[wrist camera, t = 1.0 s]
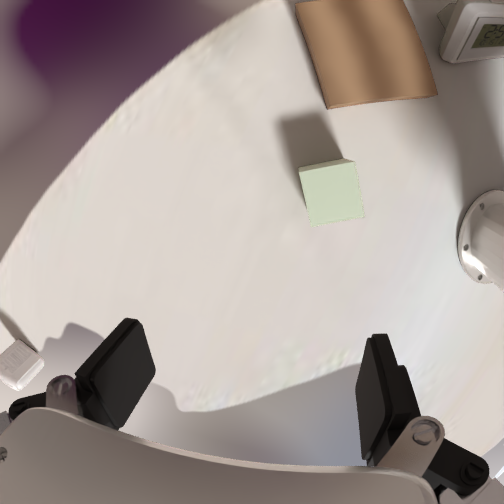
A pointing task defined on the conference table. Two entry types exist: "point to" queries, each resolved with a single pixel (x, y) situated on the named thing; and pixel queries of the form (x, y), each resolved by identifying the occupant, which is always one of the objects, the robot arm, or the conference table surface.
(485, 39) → the digital clock
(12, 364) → the photo printer
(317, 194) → the sage block
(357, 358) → the conference table surface
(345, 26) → the wooden square slab
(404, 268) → the conference table surface
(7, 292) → the conference table surface
